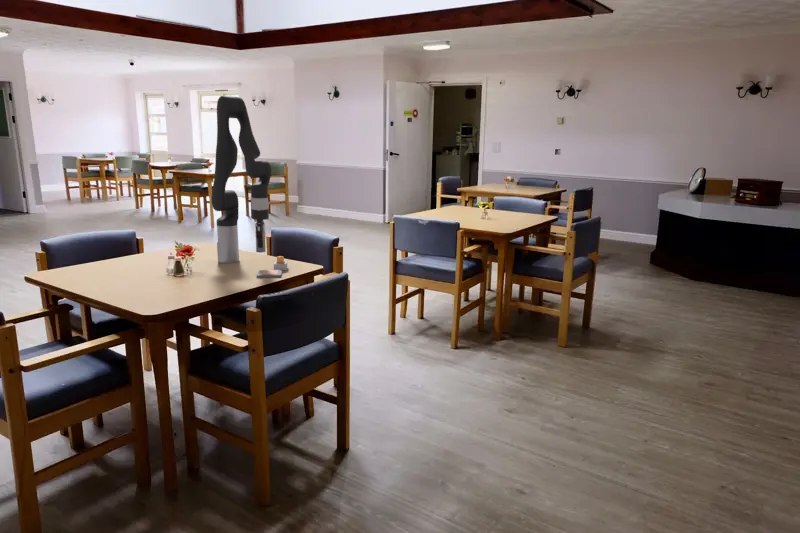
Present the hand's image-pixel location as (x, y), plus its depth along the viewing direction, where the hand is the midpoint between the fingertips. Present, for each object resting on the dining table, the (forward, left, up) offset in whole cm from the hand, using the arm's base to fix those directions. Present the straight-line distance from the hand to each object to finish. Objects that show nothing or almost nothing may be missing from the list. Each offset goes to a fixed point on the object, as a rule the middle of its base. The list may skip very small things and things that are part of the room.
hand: (260, 246), depth 248 cm
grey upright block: (0, 0, -2) cm, 2 cm away
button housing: (+8, 0, -10) cm, 13 cm away
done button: (+8, 0, -8) cm, 11 cm away
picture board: (+4, -10, -10) cm, 15 cm away
